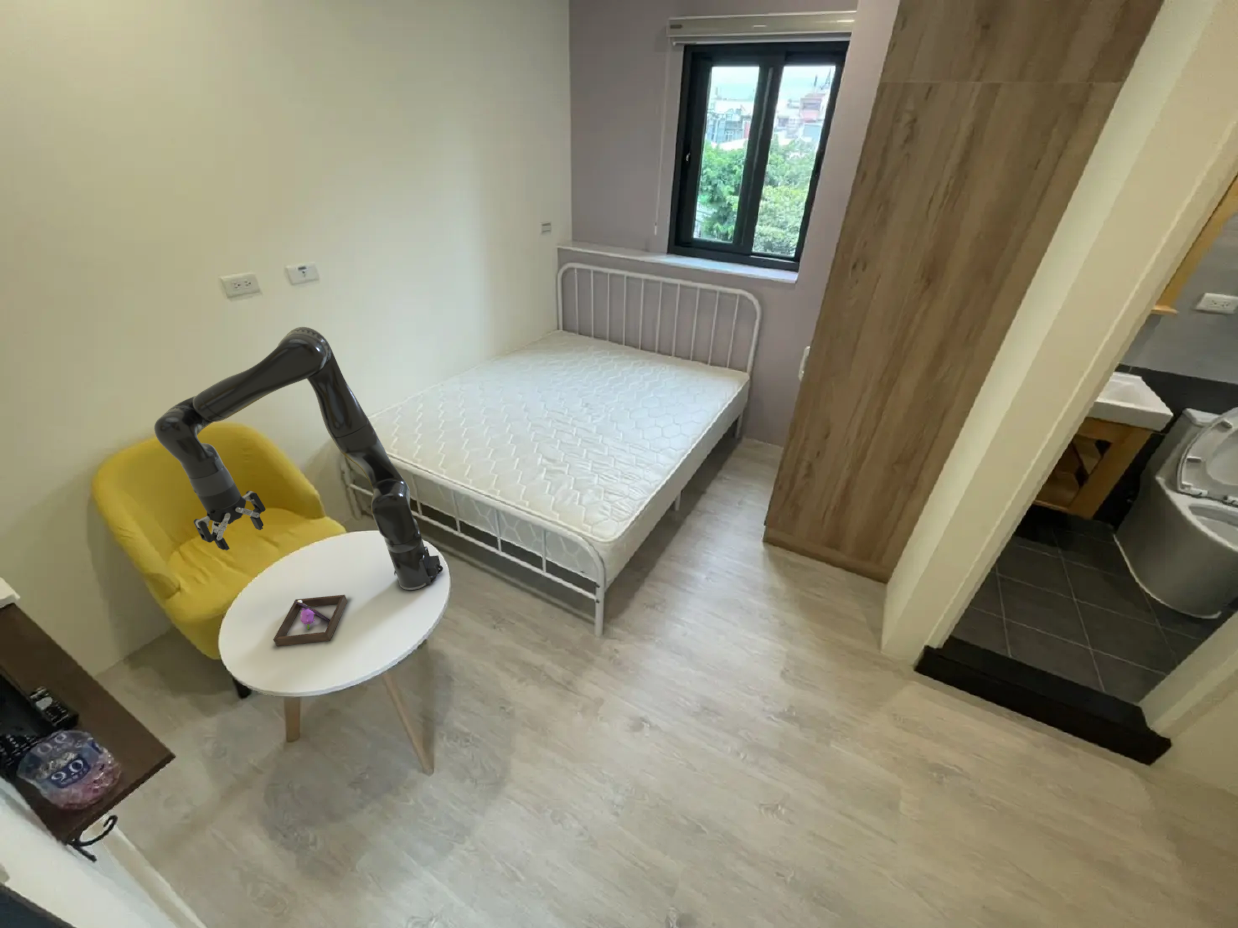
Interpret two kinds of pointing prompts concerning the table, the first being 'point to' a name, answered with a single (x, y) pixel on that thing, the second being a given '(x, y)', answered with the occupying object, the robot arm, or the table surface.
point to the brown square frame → (312, 637)
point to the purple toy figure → (308, 614)
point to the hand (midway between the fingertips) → (243, 538)
